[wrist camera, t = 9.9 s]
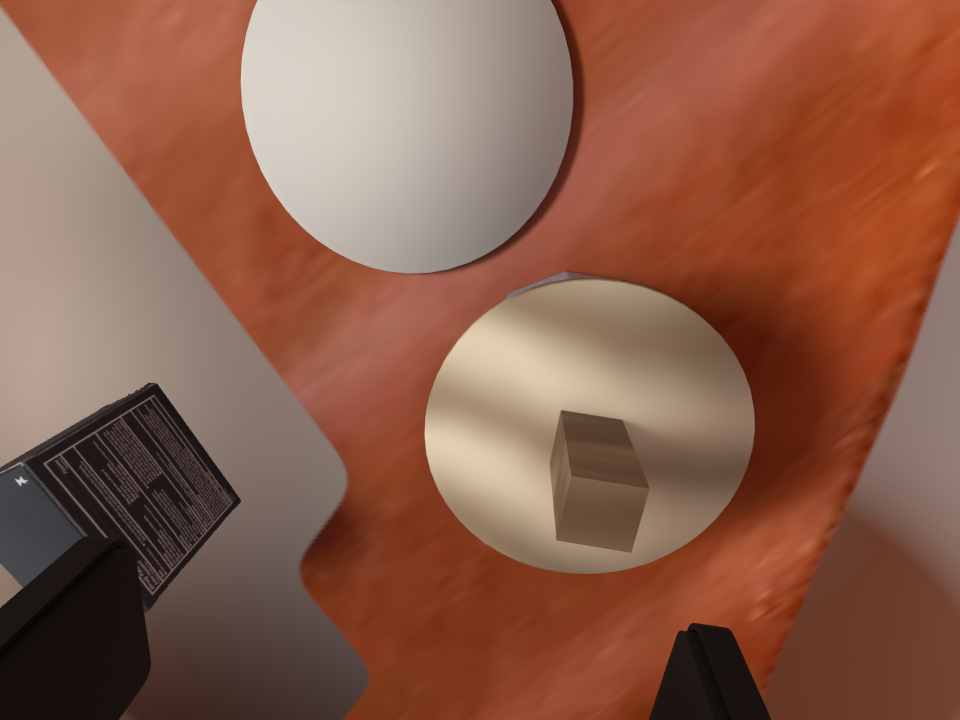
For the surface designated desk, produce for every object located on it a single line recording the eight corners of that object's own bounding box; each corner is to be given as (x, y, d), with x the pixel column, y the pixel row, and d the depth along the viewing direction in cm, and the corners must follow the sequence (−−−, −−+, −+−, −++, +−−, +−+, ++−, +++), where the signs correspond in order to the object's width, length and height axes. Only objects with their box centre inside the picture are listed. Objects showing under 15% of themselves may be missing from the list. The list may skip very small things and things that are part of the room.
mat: (244, -117, 27) (238, -123, 26) (605, -67, 26) (607, -72, 26) (247, 247, 33) (242, 248, 32) (539, 292, 32) (540, 294, 32)
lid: (447, 252, 25) (420, 282, 18) (792, 305, 25) (890, 355, 18) (413, 535, 30) (383, 636, 24) (696, 582, 30) (744, 698, 23)
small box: (86, 414, 38) (-69, 501, 28) (157, 378, 36) (21, 456, 26) (176, 531, 40) (64, 647, 31) (245, 501, 39) (151, 613, 29)
